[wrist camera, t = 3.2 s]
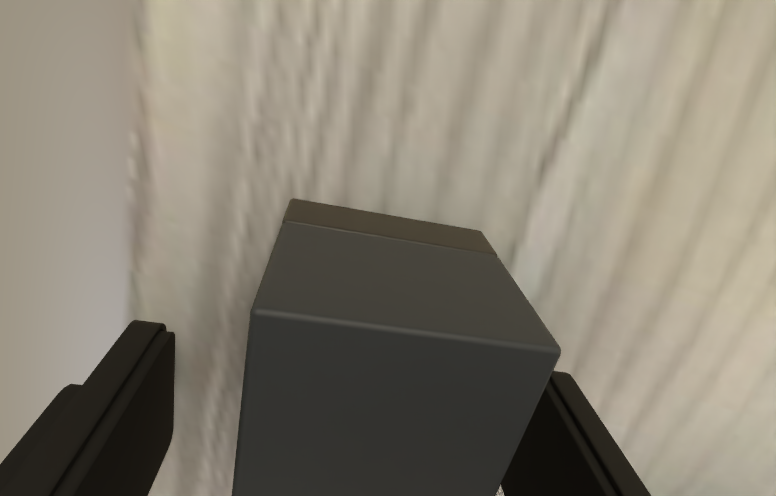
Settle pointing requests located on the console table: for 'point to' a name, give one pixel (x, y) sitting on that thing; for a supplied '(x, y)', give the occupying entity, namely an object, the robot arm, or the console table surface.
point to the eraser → (385, 361)
